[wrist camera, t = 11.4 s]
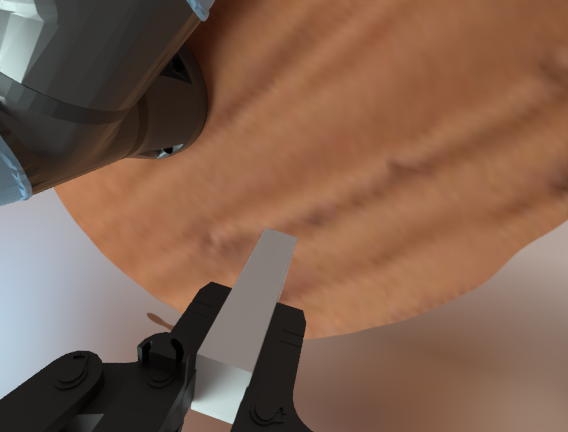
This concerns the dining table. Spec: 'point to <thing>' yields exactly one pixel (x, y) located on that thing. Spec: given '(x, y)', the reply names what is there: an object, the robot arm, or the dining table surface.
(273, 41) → the dining table surface
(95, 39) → the robot arm
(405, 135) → the dining table surface
